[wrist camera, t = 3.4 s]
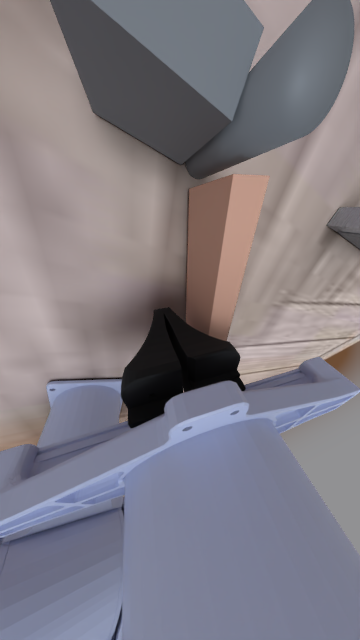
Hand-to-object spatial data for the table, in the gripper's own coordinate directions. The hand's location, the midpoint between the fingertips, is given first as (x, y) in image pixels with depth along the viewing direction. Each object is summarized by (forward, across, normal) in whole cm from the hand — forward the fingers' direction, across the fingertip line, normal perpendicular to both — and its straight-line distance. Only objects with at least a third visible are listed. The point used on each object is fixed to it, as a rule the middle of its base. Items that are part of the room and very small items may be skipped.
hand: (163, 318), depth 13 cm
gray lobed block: (+2, -2, -11) cm, 11 cm away
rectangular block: (+1, -3, -2) cm, 4 cm away
